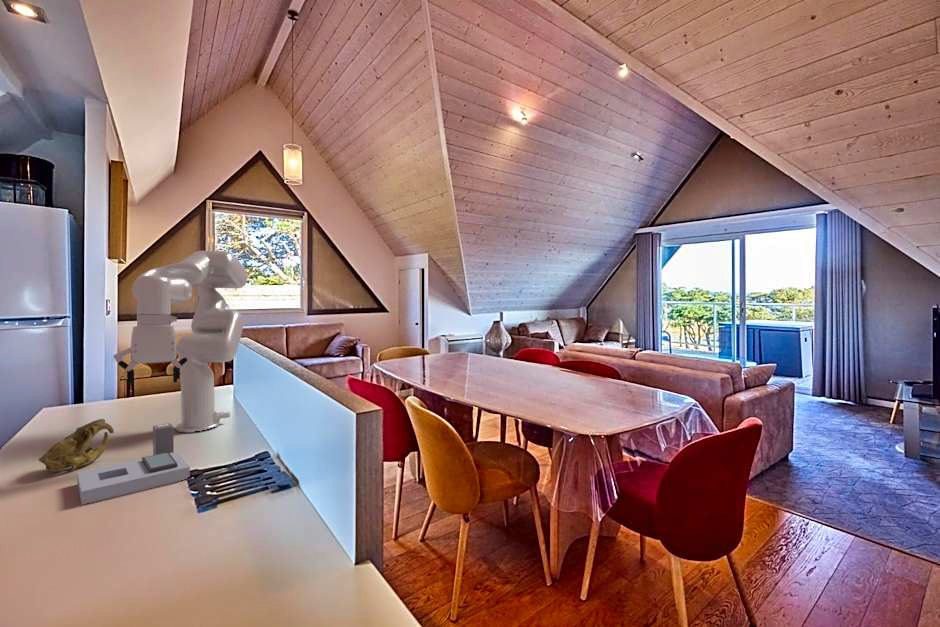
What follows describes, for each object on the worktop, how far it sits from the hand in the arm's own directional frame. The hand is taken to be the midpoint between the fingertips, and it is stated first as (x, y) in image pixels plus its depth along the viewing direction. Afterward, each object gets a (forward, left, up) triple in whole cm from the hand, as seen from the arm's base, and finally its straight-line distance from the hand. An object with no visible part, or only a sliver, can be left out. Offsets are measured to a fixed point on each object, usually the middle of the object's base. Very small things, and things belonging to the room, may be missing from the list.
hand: (154, 383), depth 121 cm
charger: (-2, +2, -21) cm, 21 cm away
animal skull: (+15, -6, -21) cm, 27 cm away
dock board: (+6, +15, -21) cm, 26 cm away
